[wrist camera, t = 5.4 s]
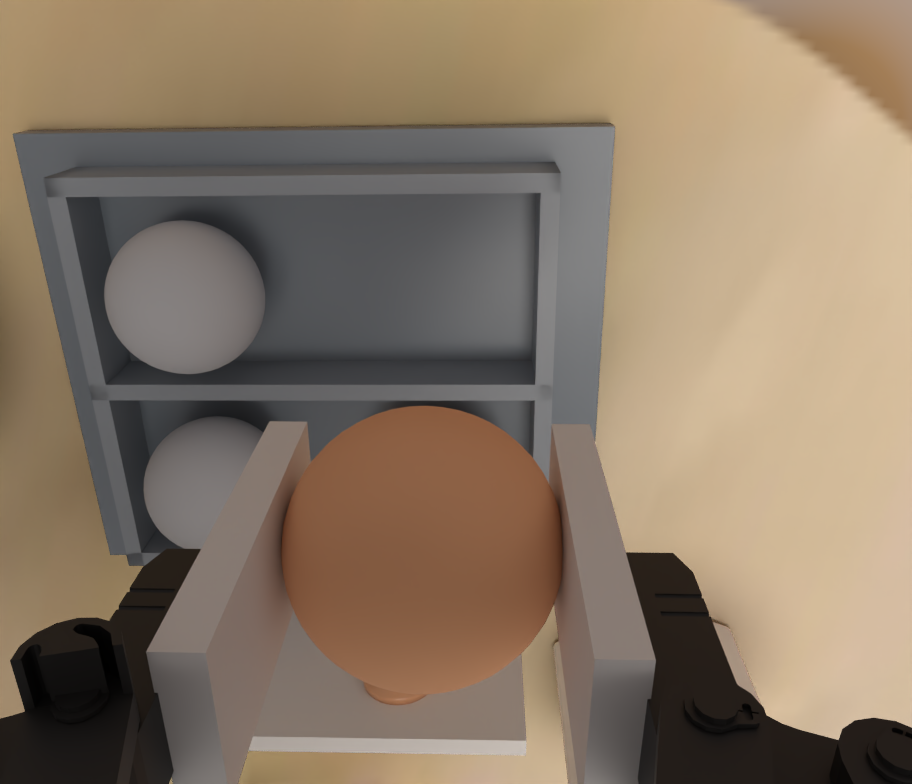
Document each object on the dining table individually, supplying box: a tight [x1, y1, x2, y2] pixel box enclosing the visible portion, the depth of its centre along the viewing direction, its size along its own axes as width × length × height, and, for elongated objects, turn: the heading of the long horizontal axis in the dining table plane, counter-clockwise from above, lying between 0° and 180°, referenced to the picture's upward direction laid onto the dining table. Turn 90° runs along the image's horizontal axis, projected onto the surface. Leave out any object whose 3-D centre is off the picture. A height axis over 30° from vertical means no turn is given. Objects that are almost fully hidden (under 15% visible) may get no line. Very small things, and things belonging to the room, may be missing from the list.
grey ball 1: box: [104, 220, 265, 374], centre depth 26 cm, size 5×5×5 cm
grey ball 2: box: [144, 416, 263, 549], centre depth 29 cm, size 5×5×5 cm
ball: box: [281, 406, 563, 695], centre depth 14 cm, size 5×5×5 cm
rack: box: [13, 123, 615, 755], centre depth 26 cm, size 20×17×11 cm
